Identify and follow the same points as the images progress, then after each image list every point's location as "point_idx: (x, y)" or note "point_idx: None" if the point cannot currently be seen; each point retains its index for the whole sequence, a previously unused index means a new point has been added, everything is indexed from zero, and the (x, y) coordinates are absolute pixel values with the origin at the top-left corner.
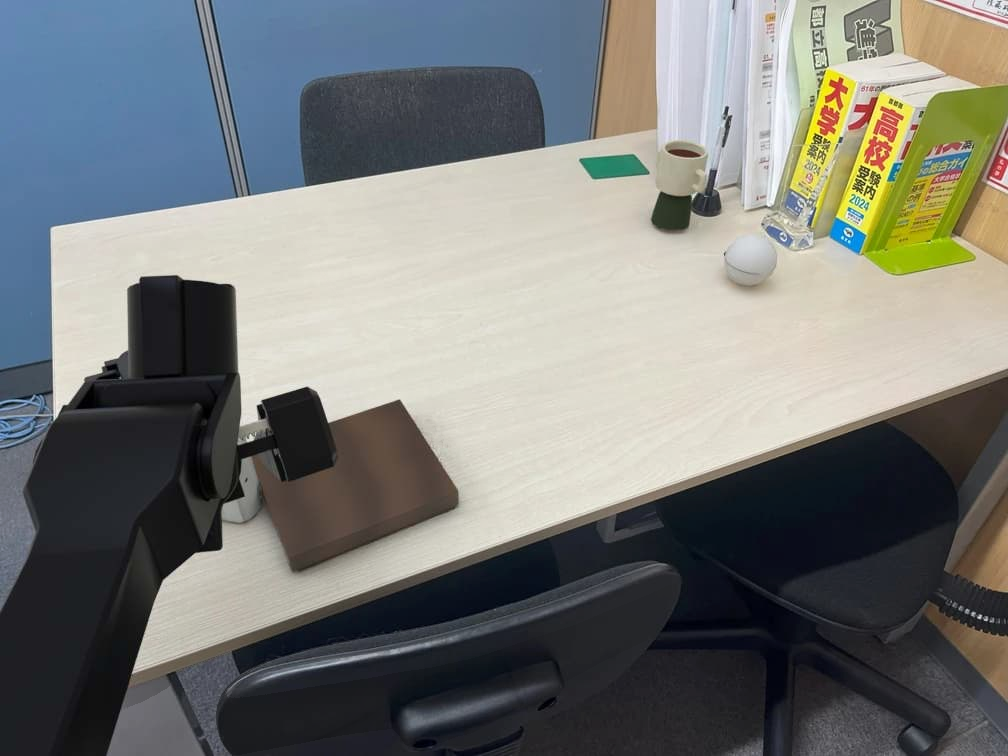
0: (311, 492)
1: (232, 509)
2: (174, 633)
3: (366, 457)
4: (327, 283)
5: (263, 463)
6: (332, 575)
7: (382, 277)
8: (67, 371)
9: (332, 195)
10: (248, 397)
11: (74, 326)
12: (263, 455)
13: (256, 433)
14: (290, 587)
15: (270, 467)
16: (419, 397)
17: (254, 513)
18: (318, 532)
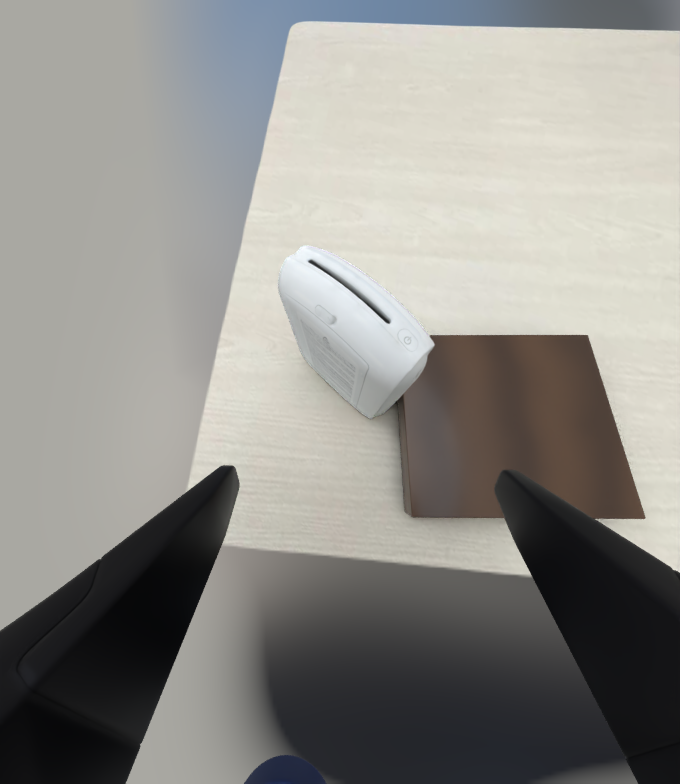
0: (457, 430)
1: (366, 411)
2: (277, 523)
3: (531, 407)
4: (515, 147)
5: (536, 580)
6: (444, 534)
7: (575, 156)
8: (261, 173)
9: (541, 41)
10: (408, 261)
11: (278, 127)
12: (585, 620)
13: (638, 587)
14: (397, 526)
15: (617, 716)
16: (588, 331)
17: (383, 413)
18: (454, 495)
